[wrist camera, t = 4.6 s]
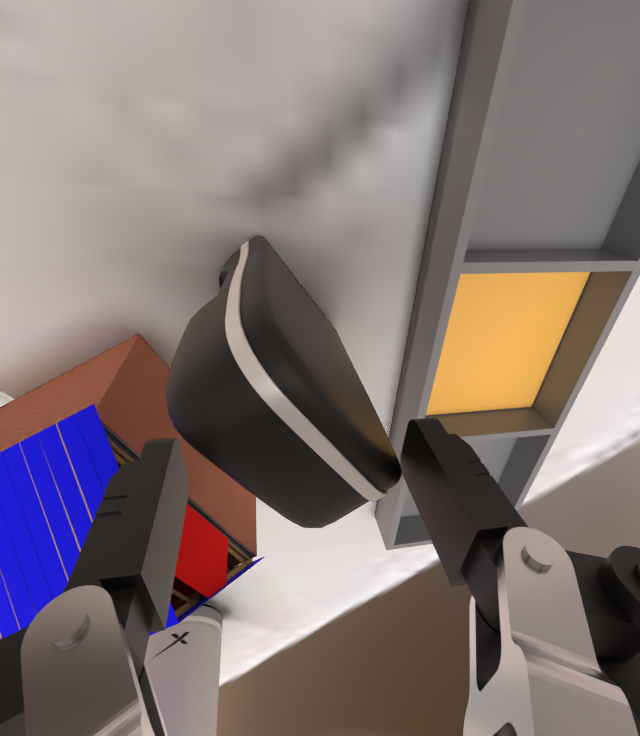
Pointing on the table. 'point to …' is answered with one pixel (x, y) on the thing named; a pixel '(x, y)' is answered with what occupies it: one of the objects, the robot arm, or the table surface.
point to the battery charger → (278, 396)
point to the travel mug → (188, 672)
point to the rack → (523, 236)
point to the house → (104, 484)
